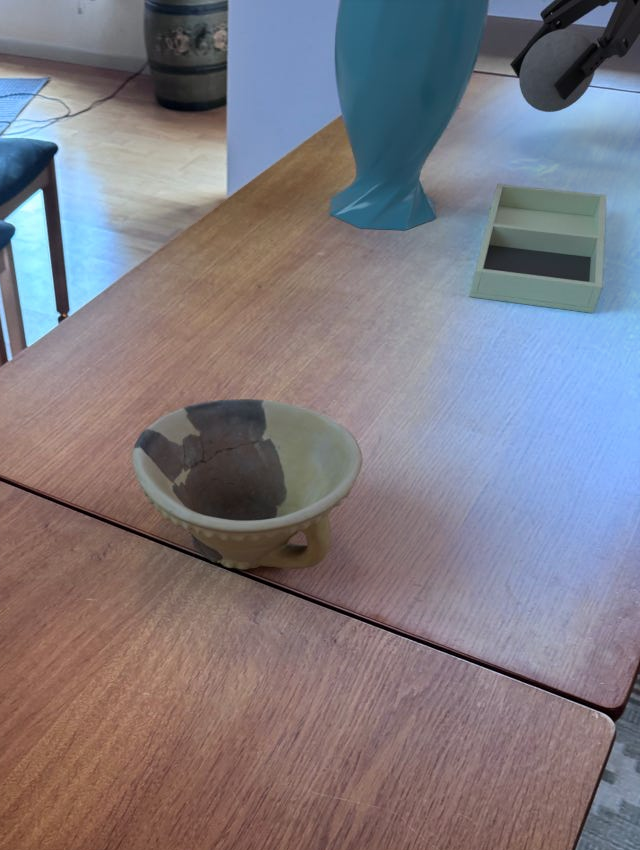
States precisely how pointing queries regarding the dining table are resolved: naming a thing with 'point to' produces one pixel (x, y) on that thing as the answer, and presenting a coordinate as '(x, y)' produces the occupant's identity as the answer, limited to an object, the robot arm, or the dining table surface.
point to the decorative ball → (552, 69)
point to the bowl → (249, 478)
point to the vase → (400, 98)
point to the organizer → (542, 248)
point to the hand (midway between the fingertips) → (536, 81)
